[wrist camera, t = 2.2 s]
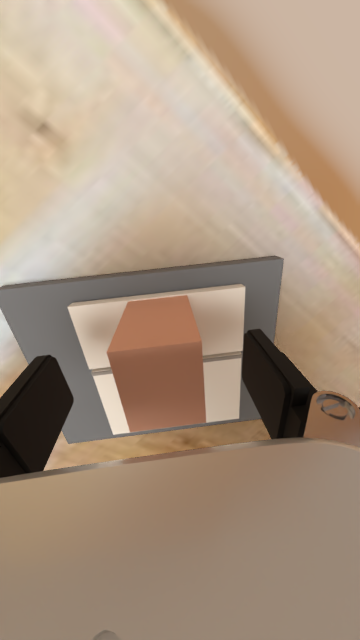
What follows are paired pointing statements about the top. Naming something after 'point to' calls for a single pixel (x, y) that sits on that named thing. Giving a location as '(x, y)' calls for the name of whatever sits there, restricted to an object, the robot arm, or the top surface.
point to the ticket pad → (98, 384)
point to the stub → (161, 348)
